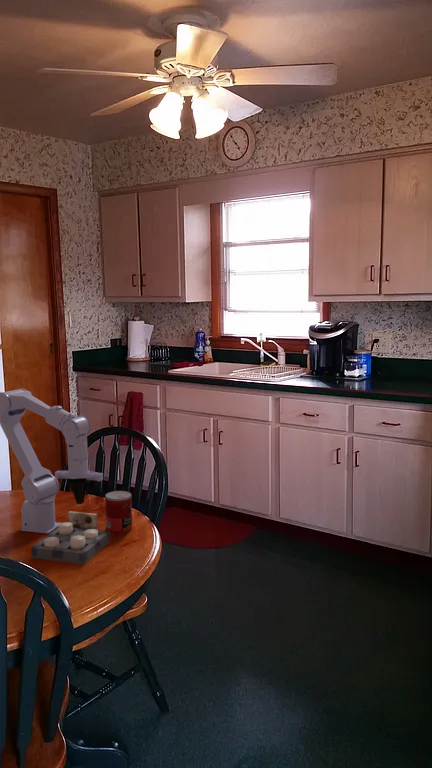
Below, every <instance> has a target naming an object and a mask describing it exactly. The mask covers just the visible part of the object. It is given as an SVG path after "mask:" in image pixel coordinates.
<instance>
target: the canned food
mask: <svg viewBox="0 0 432 768" xmlns="http://www.w3.org/2000/svg"><path fill="white" fill-rule="evenodd" d="M104 497H105V498H104V499H105V500H104V502H105V528H106V531H110V534H115V535H116V534H118V535H119V534H126V533H128V532H130V531H131V530H132V528H133V508H132V507H133V506H132V505H133V504H132V503H133V502H132V500H133V499H132V493H131V492H129V491H125V490H114V491H110V492H107V493H105V496H104Z"/></svg>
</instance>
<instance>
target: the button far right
mask: <svg viewBox="0 0 432 768" xmlns="http://www.w3.org/2000/svg"><path fill="white" fill-rule="evenodd" d="M98 530H99V529H98ZM98 530H96V529H88V530H86V531H84V537H85V538H90V539H95V538H97V537H98Z"/></svg>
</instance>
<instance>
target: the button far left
mask: <svg viewBox="0 0 432 768" xmlns="http://www.w3.org/2000/svg"><path fill="white" fill-rule="evenodd" d="M60 523H61V524H59V525H58V527H57V528H58V530H59V535H62V536H70V535H71V534H73V524H72V523H70V522H69V521H68V522H67V521H65V522H60Z"/></svg>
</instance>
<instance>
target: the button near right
mask: <svg viewBox="0 0 432 768" xmlns="http://www.w3.org/2000/svg"><path fill="white" fill-rule="evenodd" d="M70 547H71V549H73V550H83V549H84V548H85V537H84V536H81V535H77V536H73V537H71V538H70Z"/></svg>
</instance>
